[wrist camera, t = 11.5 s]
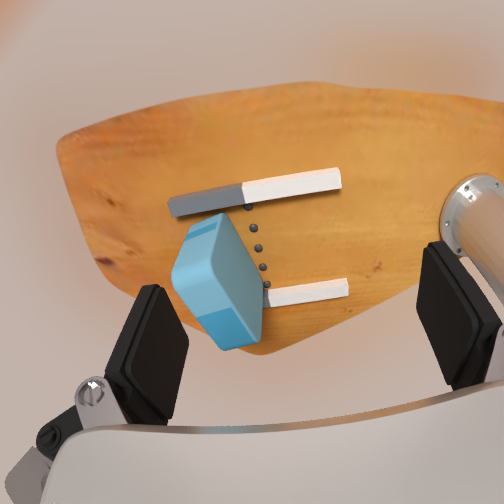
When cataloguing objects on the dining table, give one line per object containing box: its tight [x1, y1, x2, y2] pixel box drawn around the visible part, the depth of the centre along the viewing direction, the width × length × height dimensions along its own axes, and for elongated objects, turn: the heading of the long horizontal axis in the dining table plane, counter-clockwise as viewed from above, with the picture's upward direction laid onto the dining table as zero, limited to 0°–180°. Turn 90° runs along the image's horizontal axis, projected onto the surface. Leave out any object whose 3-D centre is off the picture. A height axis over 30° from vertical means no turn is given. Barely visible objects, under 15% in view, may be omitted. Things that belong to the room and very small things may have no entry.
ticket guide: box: [167, 168, 349, 308], centre depth 40 cm, size 20×18×2 cm
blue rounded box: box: [171, 213, 263, 351], centre depth 37 cm, size 12×4×12 cm, turn 25°
